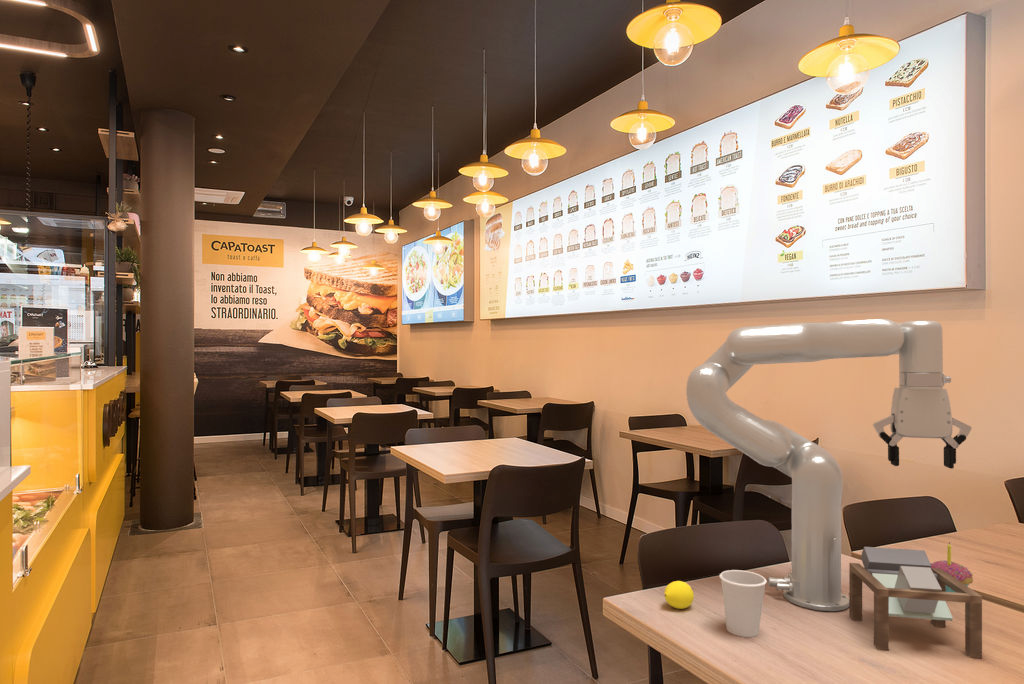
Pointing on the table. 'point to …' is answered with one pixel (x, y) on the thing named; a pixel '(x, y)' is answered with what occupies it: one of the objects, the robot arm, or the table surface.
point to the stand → (882, 598)
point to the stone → (917, 588)
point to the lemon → (679, 594)
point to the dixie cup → (742, 601)
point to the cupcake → (954, 570)
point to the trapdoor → (886, 571)
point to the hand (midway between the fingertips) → (921, 466)
